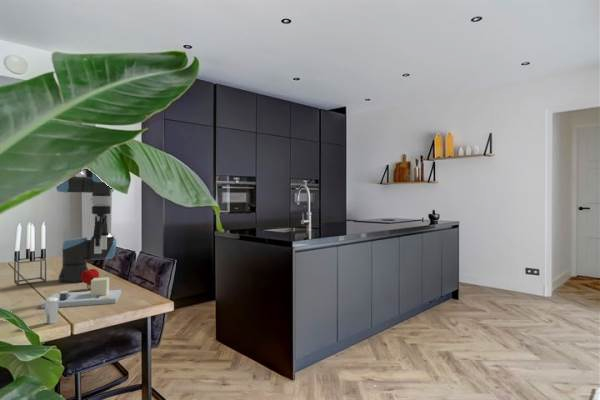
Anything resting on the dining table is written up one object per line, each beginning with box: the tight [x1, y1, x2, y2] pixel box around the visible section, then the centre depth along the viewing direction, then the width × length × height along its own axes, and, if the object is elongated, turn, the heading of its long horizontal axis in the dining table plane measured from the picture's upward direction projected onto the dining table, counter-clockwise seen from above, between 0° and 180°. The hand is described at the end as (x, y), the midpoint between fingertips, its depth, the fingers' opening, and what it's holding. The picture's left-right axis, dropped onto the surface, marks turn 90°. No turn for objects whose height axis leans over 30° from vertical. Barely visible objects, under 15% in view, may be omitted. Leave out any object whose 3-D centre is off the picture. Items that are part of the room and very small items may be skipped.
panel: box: [40, 288, 122, 309], centre depth 162 cm, size 17×28×2 cm, turn 109°
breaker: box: [59, 290, 69, 300], centre depth 156 cm, size 3×2×3 cm
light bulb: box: [81, 268, 100, 291], centre depth 182 cm, size 9×7×10 cm
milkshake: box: [43, 296, 60, 325], centre depth 133 cm, size 4×5×10 cm
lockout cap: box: [90, 276, 110, 296], centre depth 166 cm, size 7×6×7 cm
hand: (100, 251), depth 166 cm, fingers open, 13 cm apart
